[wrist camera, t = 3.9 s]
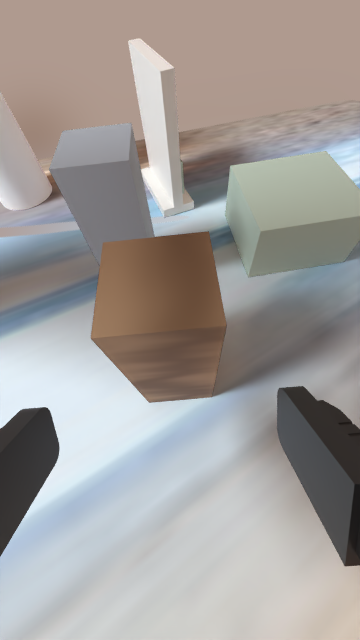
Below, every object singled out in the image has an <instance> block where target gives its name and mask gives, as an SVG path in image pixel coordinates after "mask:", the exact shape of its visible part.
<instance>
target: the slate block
mask: <svg viewBox="0 0 360 640" xmlns="http://www.w3.org/2000/svg"><path fill="white" fill-rule="evenodd" d="M49 170H50V172H51V174H52V176H53V178H54V180H55V182H56V184H57V186H58V188H59V190H60V191H61V193H62V195H63V197H64V199H65V201H66V203H67V205H68V207H69V209H70V211H71V213H72V214H73V216H74V218H75V220H76V222H77V224H78V226H79V228H80V230H81V232H82V234H83V235H84V237H85V239H86V241H87V243H88V245H89V247H90V249H91V251H92V253H93V255H94V257H95V258H96V260H97V262H98V264H99V266H100V261H101V253H102V245H103V243H104V242H113V241H123V240H132V239H142V238H151V237H155V236H154V231H153V227H152V222H151V217H150V212H149V207H148V202H147V197H146V192H145V187H144V182H143V177H142V173H141V168H140V163H139V158H138V153H137V148H136V143H135V138H134V133H133V129H132V124H131V123H126V124H117V125H109V126H100V127H93V128H83V129H76V130H66V131H63V132H62V134H61V137H60V140H59V143H58V146H57V148H56V151H55V154H54V157H53V160H52V162H51V165H50V168H49Z"/></svg>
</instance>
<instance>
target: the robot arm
mask: <svg viewBox="0 0 360 640" xmlns="http://www.w3.org/2000/svg"><path fill="white" fill-rule="evenodd" d="M277 430H278V436H279V440H280V443H281V445H282V448H283V449H284V451H285V453H286V455H287V457H288V459H289V461H290V463H291V465H292V467H293V469H294V470H295V472H296V474H297V476H298V478H299V480H300V482H301V484H302V486H303V488H304V489H305V491H306V493H307V495H308V497H309V499H310V501H311V503H312V505H313V507H314V508H315V510H316V512H317V514H318V516H319V518H320V520H321V522H322V524H323V526H324V527H325V529H326V531H327V533H328V535H329V537H330V539H331V541H332V543H333V545H334V547H335V548H336V550H337V552H338V554H339V556H340V558H341V560H342V562H343V564H344V566H356V565H360V429H359V428H358V427H357V426H356V425H355V424H352V421H351V420H350V419H349V418H348V417H347V416H346V415H345V414H344V413H342V412H341V411H340V410H339V409H338V408H336V407H334V406H332V405H330V404H329V403H327V402H325V401H323V400H320V401H317V400H316V399H315V398H314V397H313V396H312V395H311V394H310V393H309V392H308V390H307V389H306V388H305V387H303V386H298V387H286V388H279V390H278V395H277ZM58 455H59V442H58V438H57V434H56V431H55V427H54V423H53V420H52V416H51V413H50V411H49V409H48V408H46V407H42V408H30V409H22V410H20V411H19V412H18V413H17V414H16V415H15V416H14V417H13V418H12V419H11V420H10V421H9V422H8V423H7V424H6V425H5V426H4V427H2V428H1V429H0V556H1V555H2V553H3V551H4V549H5V548H6V546H7V544H8V543H9V541H10V539H11V538H12V536H13V534H14V533H15V531H16V529H17V528H18V526H19V524H20V523H21V521H22V519H23V518H24V516H25V514H26V513H27V511H28V509H29V508H30V506H31V504H32V502H33V501H34V499H35V497H36V496H37V494H38V492H39V491H40V489H41V487H42V486H43V484H44V482H45V481H46V479H47V477H48V476H49V474H50V472H51V471H52V469H53V467H54V466H55V464H56V462H57V459H58Z"/></svg>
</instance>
